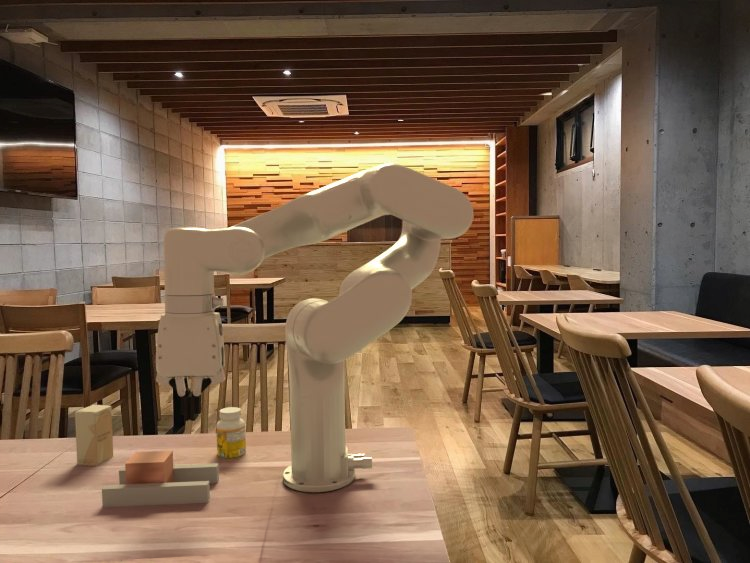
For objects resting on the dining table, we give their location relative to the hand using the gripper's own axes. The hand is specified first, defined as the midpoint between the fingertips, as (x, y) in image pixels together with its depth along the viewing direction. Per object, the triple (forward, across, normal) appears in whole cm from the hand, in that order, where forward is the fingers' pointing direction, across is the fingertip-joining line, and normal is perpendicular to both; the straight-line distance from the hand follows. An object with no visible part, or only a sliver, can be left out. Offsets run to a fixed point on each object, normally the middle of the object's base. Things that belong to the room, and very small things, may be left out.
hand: (191, 418), depth 95 cm
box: (+14, +22, -16) cm, 30 cm away
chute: (+14, +9, 0) cm, 16 cm away
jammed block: (+12, +7, 0) cm, 14 cm away
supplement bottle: (+13, -3, -17) cm, 22 cm away
